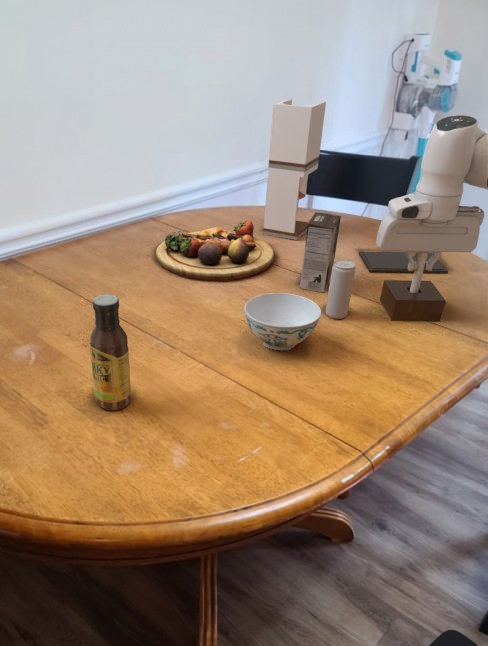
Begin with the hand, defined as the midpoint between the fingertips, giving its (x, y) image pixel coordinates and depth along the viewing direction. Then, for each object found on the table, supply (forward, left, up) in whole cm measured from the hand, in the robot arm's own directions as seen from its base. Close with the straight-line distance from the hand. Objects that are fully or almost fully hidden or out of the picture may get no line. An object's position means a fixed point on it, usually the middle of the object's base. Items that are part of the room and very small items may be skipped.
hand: (419, 270), depth 123 cm
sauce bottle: (+62, +38, -10) cm, 73 cm away
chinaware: (+31, +16, -10) cm, 36 cm away
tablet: (-6, -28, -10) cm, 30 cm away
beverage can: (+17, +3, -10) cm, 20 cm away
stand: (0, 0, -10) cm, 10 cm away
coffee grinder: (+22, -52, -10) cm, 57 cm away
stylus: (0, 0, -10) cm, 10 cm away
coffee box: (+19, -14, -10) cm, 26 cm away
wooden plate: (+44, -30, -10) cm, 54 cm away
